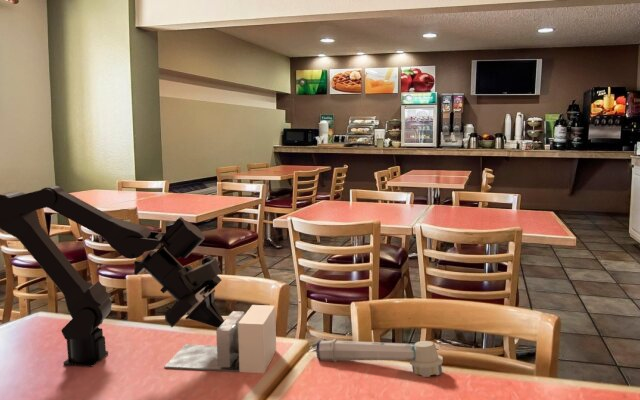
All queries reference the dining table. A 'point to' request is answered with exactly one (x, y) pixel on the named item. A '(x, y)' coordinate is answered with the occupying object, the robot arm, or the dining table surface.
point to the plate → (199, 359)
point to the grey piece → (228, 340)
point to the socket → (257, 338)
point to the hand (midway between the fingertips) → (224, 327)
